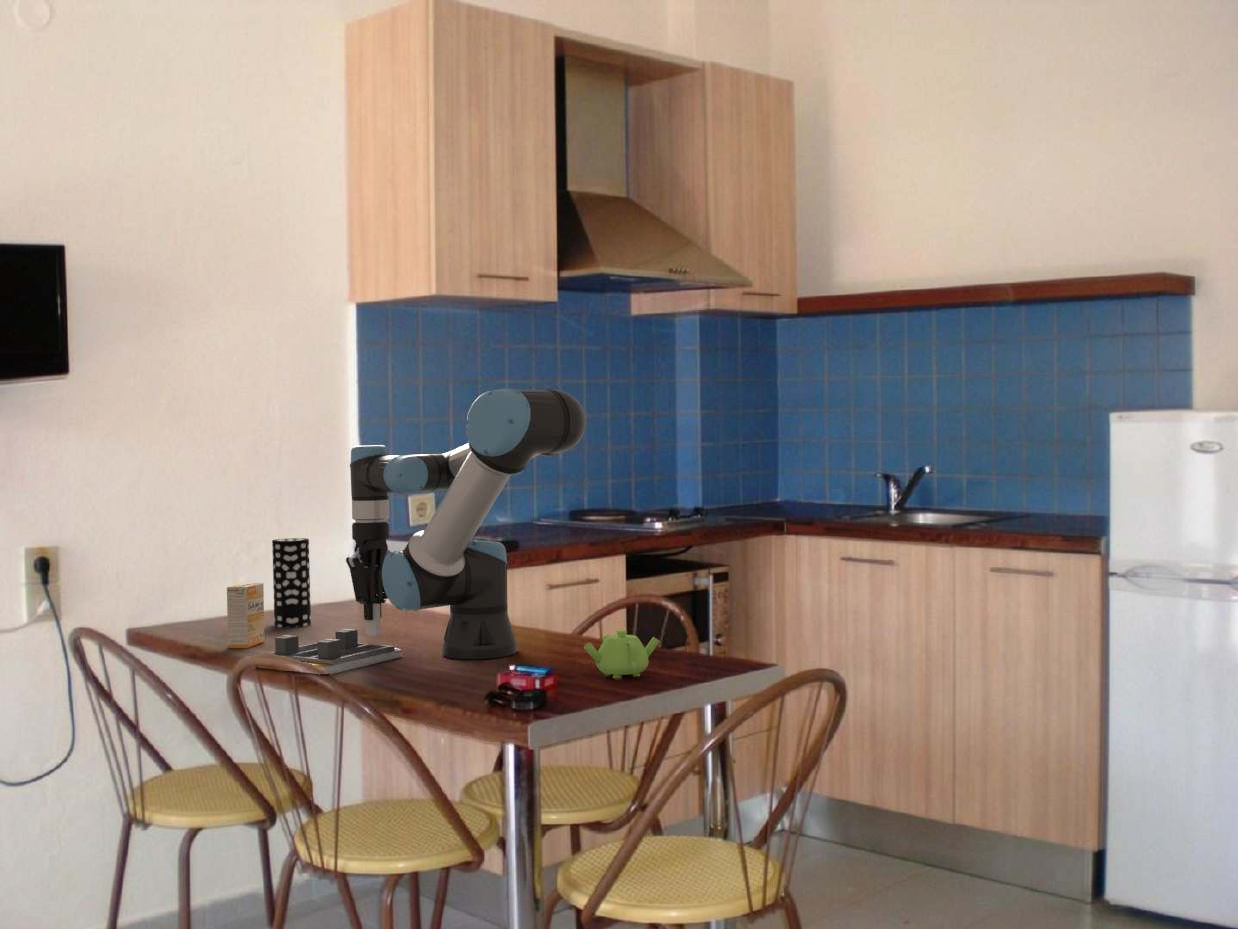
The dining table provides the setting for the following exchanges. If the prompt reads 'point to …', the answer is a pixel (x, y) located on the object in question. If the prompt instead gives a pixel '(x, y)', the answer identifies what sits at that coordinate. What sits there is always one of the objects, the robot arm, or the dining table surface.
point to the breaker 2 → (329, 649)
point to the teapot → (622, 654)
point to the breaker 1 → (286, 645)
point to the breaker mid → (347, 638)
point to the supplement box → (245, 615)
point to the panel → (346, 656)
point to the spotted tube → (291, 582)
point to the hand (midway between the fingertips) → (373, 635)
